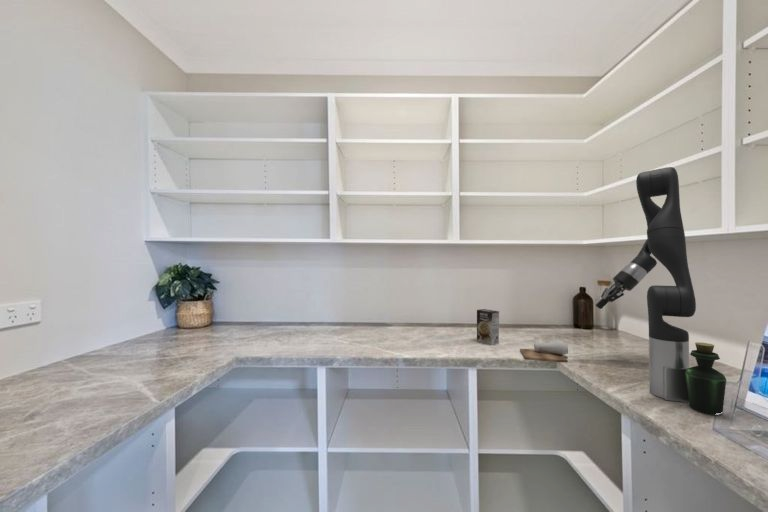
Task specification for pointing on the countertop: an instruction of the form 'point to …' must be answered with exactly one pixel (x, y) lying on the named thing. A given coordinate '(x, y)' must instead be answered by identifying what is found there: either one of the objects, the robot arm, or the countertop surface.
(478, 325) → the coffee box
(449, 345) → the countertop surface
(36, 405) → the countertop surface
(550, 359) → the walnut board
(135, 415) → the countertop surface
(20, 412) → the countertop surface
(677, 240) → the robot arm
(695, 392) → the potion bottle
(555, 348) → the salt shaker
